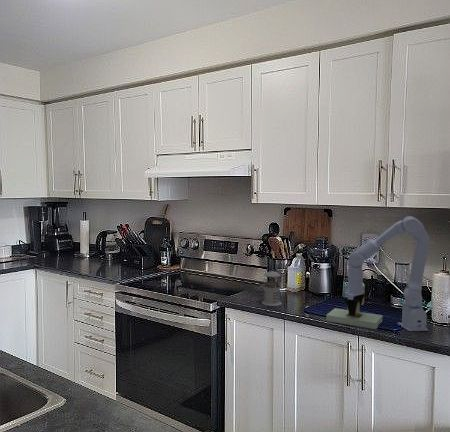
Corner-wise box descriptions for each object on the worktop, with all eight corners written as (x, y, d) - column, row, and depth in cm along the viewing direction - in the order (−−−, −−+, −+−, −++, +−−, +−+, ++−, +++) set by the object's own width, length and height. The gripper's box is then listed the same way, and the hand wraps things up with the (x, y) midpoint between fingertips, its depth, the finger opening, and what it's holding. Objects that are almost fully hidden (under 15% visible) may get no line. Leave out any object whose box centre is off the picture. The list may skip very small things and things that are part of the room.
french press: (258, 304, 204) (258, 251, 202) (267, 298, 214) (268, 248, 212) (277, 306, 199) (278, 253, 197) (286, 301, 209) (287, 250, 208)
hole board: (382, 321, 178) (382, 315, 178) (375, 329, 168) (376, 323, 168) (334, 313, 189) (335, 308, 189) (326, 320, 178) (326, 314, 178)
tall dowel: (360, 322, 177) (361, 303, 176) (351, 322, 176) (352, 303, 176) (356, 319, 181) (357, 300, 180) (347, 319, 180) (348, 301, 180)
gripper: (350, 276, 186) (349, 307, 186) (340, 282, 173) (339, 315, 174) (367, 278, 182) (366, 310, 183) (358, 284, 170) (357, 318, 170)
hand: (354, 313), depth 178 cm, fingers open, 7 cm apart
